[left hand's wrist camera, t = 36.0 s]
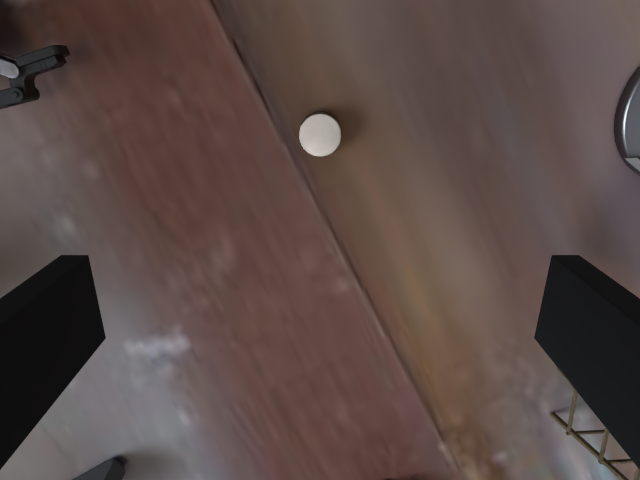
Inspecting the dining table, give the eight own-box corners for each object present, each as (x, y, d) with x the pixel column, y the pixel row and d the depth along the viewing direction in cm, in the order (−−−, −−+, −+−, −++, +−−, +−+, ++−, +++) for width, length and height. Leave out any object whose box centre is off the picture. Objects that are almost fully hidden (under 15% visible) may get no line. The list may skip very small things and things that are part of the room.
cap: (305, 106, 45) (304, 108, 43) (345, 117, 45) (346, 120, 43) (295, 147, 46) (294, 150, 44) (334, 157, 47) (334, 161, 45)
